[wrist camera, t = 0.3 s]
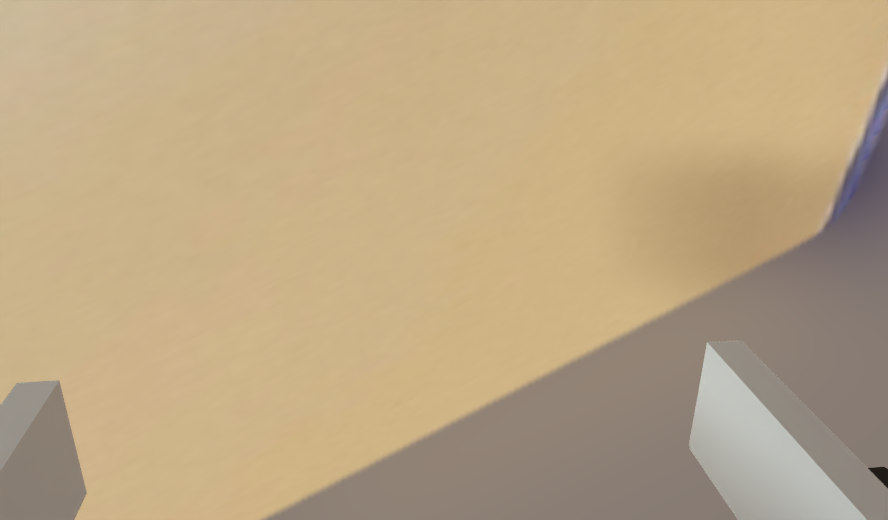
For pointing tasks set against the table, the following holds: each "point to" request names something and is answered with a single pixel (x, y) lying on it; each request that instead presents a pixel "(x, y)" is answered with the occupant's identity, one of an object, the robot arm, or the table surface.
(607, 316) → the table surface
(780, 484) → the robot arm
